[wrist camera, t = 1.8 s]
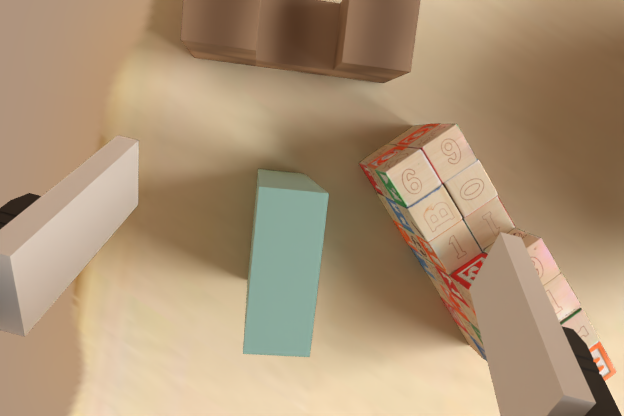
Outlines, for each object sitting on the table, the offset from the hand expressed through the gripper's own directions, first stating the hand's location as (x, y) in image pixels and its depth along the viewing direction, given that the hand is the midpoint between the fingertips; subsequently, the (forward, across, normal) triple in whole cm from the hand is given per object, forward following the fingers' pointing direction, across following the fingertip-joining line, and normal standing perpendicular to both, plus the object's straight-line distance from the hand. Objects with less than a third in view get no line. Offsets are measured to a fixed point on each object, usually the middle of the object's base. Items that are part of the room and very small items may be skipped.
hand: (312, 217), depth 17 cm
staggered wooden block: (+26, +5, 0) cm, 26 cm away
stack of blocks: (+22, -13, +14) cm, 29 cm away
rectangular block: (+19, +3, +15) cm, 24 cm away
